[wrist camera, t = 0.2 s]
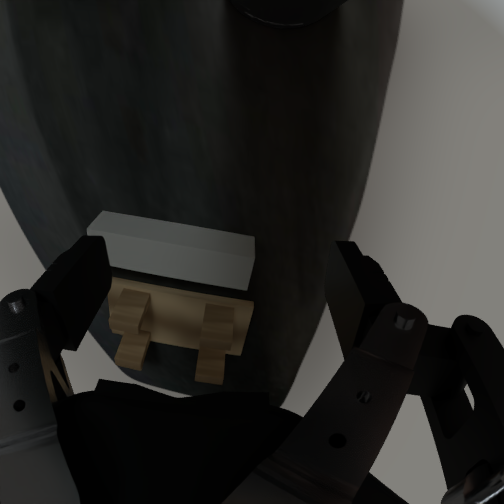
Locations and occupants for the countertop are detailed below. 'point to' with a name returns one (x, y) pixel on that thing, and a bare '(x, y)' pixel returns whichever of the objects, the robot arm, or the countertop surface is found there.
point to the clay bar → (176, 249)
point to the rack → (177, 324)
